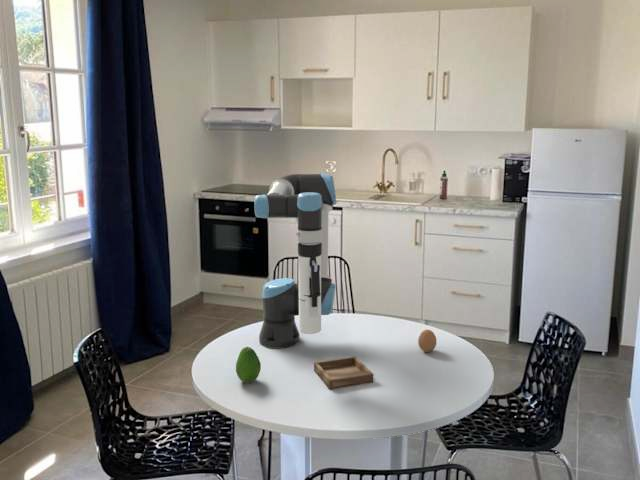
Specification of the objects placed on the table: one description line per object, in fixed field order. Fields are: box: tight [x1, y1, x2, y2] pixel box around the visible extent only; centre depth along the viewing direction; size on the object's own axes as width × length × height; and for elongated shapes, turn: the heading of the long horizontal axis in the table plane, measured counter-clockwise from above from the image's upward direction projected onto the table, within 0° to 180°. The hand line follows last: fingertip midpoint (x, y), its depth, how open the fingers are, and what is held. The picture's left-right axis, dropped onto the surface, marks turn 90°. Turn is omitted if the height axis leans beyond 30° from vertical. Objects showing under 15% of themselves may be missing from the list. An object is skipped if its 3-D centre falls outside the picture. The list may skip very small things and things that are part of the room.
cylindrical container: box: [297, 253, 322, 335], centre depth 207 cm, size 7×7×25 cm
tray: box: [313, 355, 374, 391], centre depth 213 cm, size 15×15×3 cm
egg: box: [417, 329, 437, 353], centre depth 232 cm, size 6×6×8 cm
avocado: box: [235, 346, 261, 384], centre depth 208 cm, size 8×8×12 cm
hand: (310, 312), depth 208 cm, fingers closed on cylindrical container, 7 cm apart
